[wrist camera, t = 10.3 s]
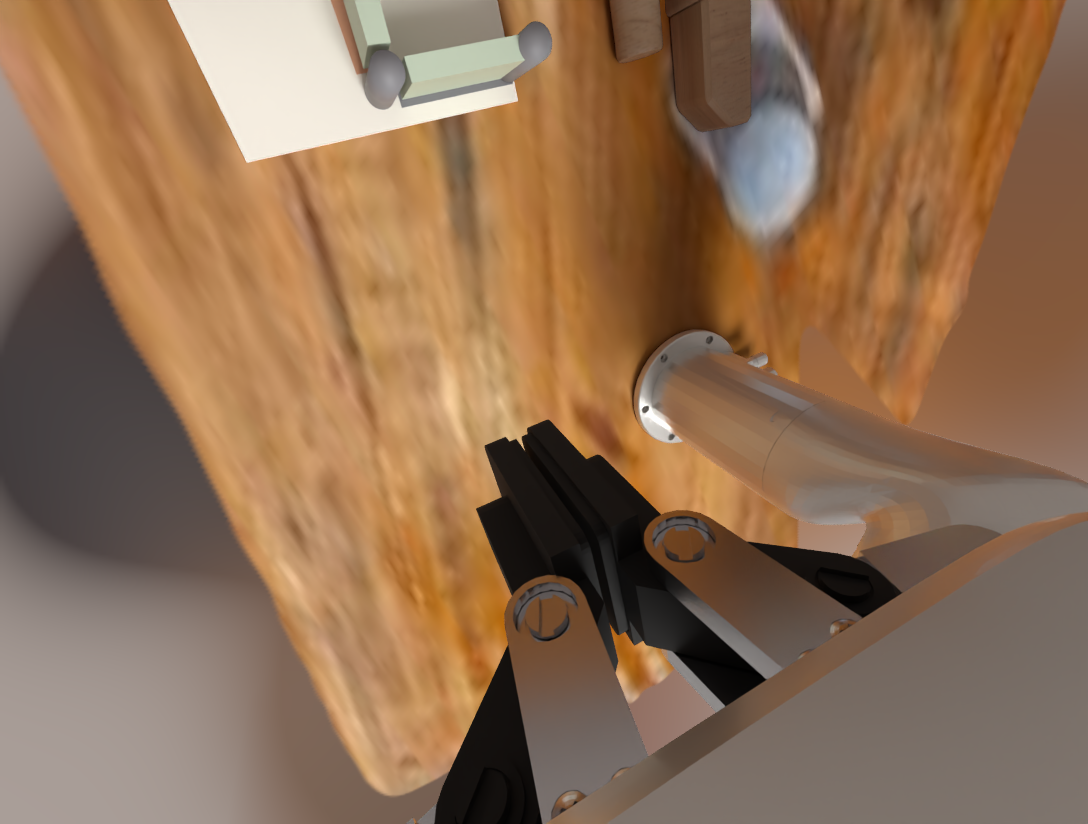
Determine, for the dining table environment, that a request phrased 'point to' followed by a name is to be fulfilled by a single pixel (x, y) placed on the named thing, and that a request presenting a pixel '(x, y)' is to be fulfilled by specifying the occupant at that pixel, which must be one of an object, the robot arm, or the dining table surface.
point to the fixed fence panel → (455, 66)
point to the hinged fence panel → (367, 27)
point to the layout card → (325, 67)
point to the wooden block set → (695, 53)
